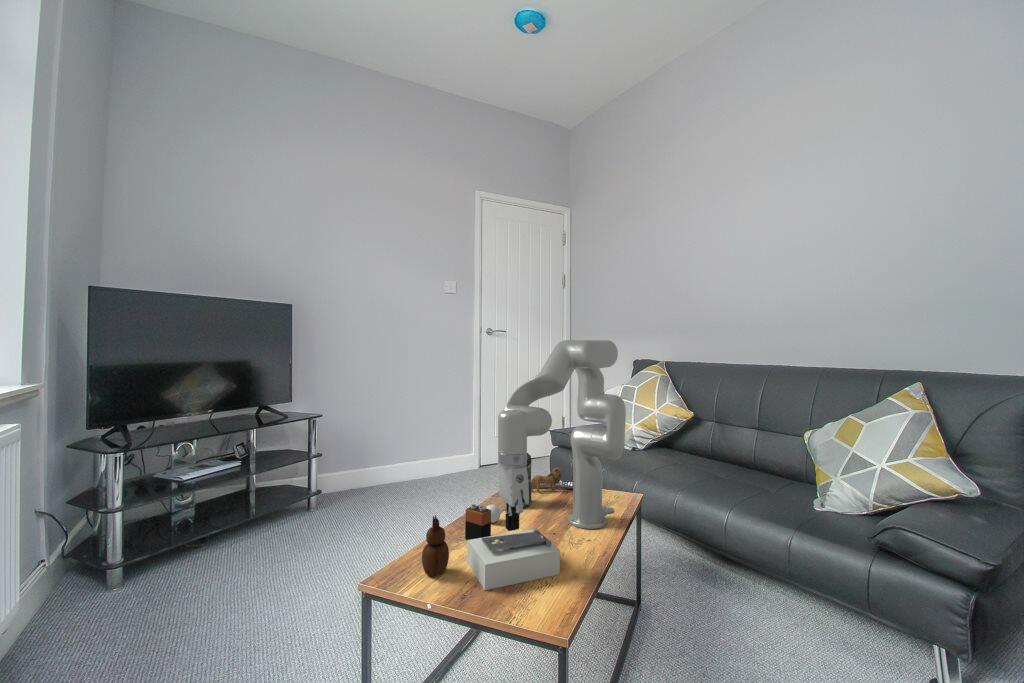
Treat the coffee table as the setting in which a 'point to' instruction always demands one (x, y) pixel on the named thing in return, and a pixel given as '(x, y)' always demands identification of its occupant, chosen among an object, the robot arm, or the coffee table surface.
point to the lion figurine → (547, 480)
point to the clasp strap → (515, 540)
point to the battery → (477, 522)
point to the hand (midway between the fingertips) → (512, 528)
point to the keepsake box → (512, 562)
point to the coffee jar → (528, 478)
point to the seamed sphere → (494, 512)
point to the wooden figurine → (435, 550)
